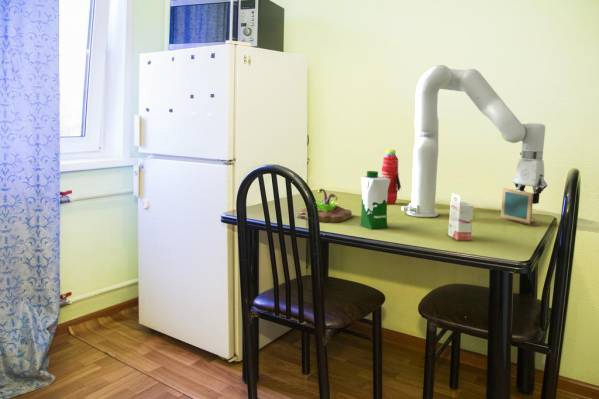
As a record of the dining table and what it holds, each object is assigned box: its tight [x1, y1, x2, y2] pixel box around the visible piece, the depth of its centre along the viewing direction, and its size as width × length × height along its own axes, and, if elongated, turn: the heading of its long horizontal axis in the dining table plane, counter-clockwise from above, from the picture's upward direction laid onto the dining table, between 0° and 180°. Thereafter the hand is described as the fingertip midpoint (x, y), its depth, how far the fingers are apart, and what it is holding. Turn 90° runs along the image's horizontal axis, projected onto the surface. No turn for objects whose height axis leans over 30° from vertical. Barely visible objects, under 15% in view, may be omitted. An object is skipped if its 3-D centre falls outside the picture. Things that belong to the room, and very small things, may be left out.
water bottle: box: [381, 148, 402, 205], centre depth 229 cm, size 12×8×25 cm, turn 36°
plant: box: [297, 188, 353, 223], centre depth 199 cm, size 20×20×11 cm
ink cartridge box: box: [447, 192, 474, 241], centre depth 168 cm, size 9×5×15 cm, turn 5°
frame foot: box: [501, 217, 539, 227], centre depth 195 cm, size 2×15×2 cm, turn 24°
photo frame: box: [500, 187, 534, 223], centre depth 194 cm, size 12×14×5 cm
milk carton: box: [360, 170, 390, 230], centre depth 182 cm, size 9×9×20 cm
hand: (527, 201), depth 196 cm, fingers closed on photo frame, 6 cm apart
